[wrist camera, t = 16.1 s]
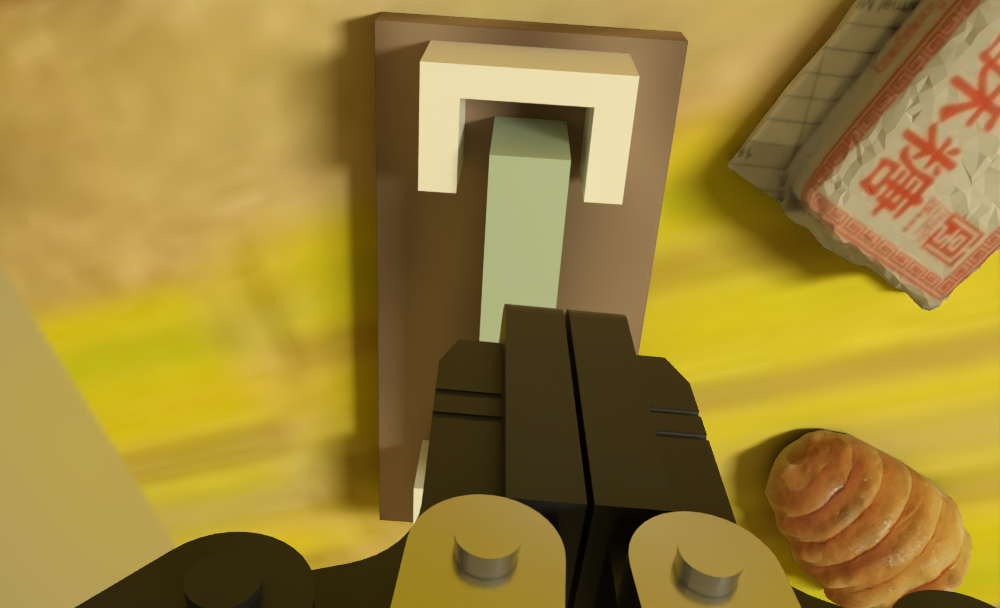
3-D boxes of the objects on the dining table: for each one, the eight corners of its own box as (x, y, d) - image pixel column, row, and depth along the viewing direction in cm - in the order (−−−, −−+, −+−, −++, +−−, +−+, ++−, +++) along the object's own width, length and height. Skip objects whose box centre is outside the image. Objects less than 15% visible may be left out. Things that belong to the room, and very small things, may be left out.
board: (384, 496, 39) (379, 519, 38) (382, 12, 29) (374, 20, 28) (606, 512, 39) (609, 535, 38) (680, 32, 29) (687, 41, 28)
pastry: (718, 478, 38) (737, 540, 35) (848, 388, 36) (881, 445, 32) (845, 590, 41) (873, 657, 38) (973, 514, 39) (1015, 579, 35)
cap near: (428, 159, 30) (418, 190, 27) (430, 40, 28) (419, 61, 25) (614, 172, 30) (622, 204, 27) (629, 53, 28) (639, 76, 25)
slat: (474, 487, 36) (467, 557, 33) (495, 116, 29) (489, 154, 25) (530, 491, 36) (530, 561, 33) (566, 121, 29) (570, 160, 25)
